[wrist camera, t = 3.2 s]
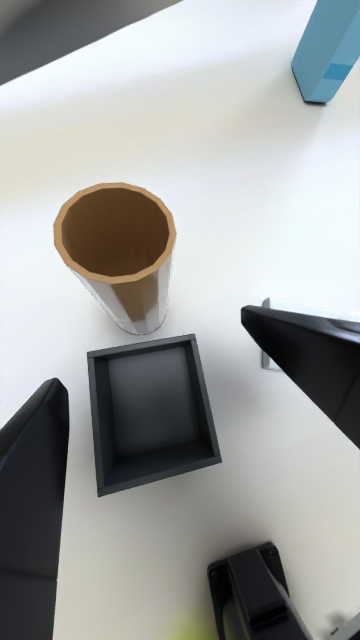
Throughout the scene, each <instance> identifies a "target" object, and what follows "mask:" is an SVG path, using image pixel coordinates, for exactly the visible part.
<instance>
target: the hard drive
mask: <svg viewBox="0 0 360 640" xmlns="http://www.w3.org/2000/svg"><path fill="white" fill-rule="evenodd" d="M263 307H265V308H271V309H277V310H283V311H289V312H296V313H302V314H308V315H314V316H321V317H325V318H333V319H340V320H347V321H354V322H360V313H359V312H353V311H348V310H342V309H337V308H331V307H325V306H319V305H313V304H308V303H302V302H296V301H290V300H284V299H278V298H272V297H268V298H267V299H265V300H264V303H263ZM262 363H263V368H267V369H274V370H281V371H283V370H282V369H281V368H280V367H279V366H278V365H277V364H276V363H275V362H274V361H273V360H272V359H271V358H270V357H269V356H268V355H267V354H266V353H265V352H264V351H263V360H262Z"/></svg>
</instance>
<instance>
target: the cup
mask: <svg viewBox="0 0 360 640" xmlns="http://www.w3.org/2000/svg"><path fill="white" fill-rule="evenodd" d="M53 226H54V245H55V247H56V249H57V251H58V253H59V254H60V256H61V258H62V259H63V261H64V263H65V264H66V265H67V267H68V268H69V269H70V270H71V271H72V272H73V273H74V275H75V276H76V277H77V278H78V279H79V280H80V281H81V283H82V284H83V285H84V286H85V287H86V288H87V289H88V291H89V292H90V293H91V294H92V295H93V296H94V298H95V299H96V300H97V301H98V302H99V303H100V304H101V306H102V307H103V308H104V309H105V310H106V311H107V312H108V314H109V315H110V316H111V317H112V318H113V319H114V320H115V322H116V323H117V324H118V325H119V326H120V327H121V328H123V329H124V330H125V331H127V332H129V333H131V334H135V335H145V334H149V333H151V332H153V331H155V330H156V329H158V328H159V327H160V326H161V324H162V323H163V321H164V319H165V316H166V311H167V305H168V297H169V289H170V281H171V273H172V266H173V258H174V250H175V242H176V229H175V225H174V220H173V216H172V214H171V213H170V211H169V210H168V208H167V207H166V206H165V204H164V203H163V202H162V200H160V198H158V197H156V196H155V195H153V194H152V193H150V192H149V191H147V190H146V189H144V188H142V187H138V186H134V185H130V184H126V183H100V184H97V185H94V186H92V187H89V188H86V189H84V190H81V191H79V192H77V193H76V194H75V195H74V196H73V197H71V198H70V199H69V200H68V201H67V202H66V203H65V204H63V206H62V207H61V209H60V211H59V213H58V216H57V218H56V220H55V222H54V225H53Z"/></svg>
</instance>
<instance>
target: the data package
mask: <svg viewBox="0 0 360 640" xmlns="http://www.w3.org/2000/svg"><path fill="white" fill-rule="evenodd" d="M359 56H360V0H318V1H317V3H316V5H315V8H314V10H313V12H312V15H311V17H310V19H309V22H308V24H307V26H306V29H305V31H304V33H303V36H302V38H301V40H300V43H299V45H298V47H297V50H296V52H295V55H294V58H293V63H292V69H293V71H294V74H295V77H296V79H297V82H298V85H299V87H300V90H301V93H302V95H303V98H304V100H305V101H313V102H324V103H326V102H329V101H330V100H331V99H332V98H333V97H334V95H335V94H336V92H337V91H338V89H339V87H340V86H341V84H342V83H343V81H344V80H345V78H346V76H347V75H348V73H349V72H350V70H351V69H352V67H353V65H354V64H355V62H356V61H357V59H358V58H359Z"/></svg>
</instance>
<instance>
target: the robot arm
mask: <svg viewBox="0 0 360 640" xmlns="http://www.w3.org/2000/svg"><path fill="white" fill-rule="evenodd" d="M241 323H242V325H243V327H244V328H245V329H246V330H247V332H248V333H249V334H250V336H251V337H252V338H253V339H254V341H255V342H256V343H257V344H258V346H259V347H260V348H261V349H262V350H263V351H264V352H265V353H266V354H267V355H268V356H269V357H270V358H271V359H272V360H273V361H274V362H275V363H276V364H277V365H278V366H279V367H280V368H281V369H282V370H283V371H284V372H285V373H286V375H287V376H288V377H289V378H290V379H291V380H292V381H293V382H294V383H295V384H296V385H297V386H298V387H299V388H300V389H301V390H302V391H303V392H304V393H305V394H306V395H307V396H308V397H309V398H310V399H311V400H312V401H313V402H314V403H315V404H316V405H317V406H318V407H319V408H320V409H321V410H322V411H323V412H324V413H325V414H326V415H327V416H328V418H329V419H330V420H331V421H332V422H334V424H335V425H336V426H337V427H338V428H339V429H340V430H341V431H342V432H343V433H344V434H345V435H346V436H347V437H348V438H349V439H350V440H351V441H352V442H353V443H354V444H355V445H356V446H357V447H358V448H359V449H360V322H354V321H347V320H340V319H333V318H325V317H321V316H314V315H308V314H302V313H296V312H289V311H283V310H277V309H271V308H265V307H258V306H252V305H247V306H245V307H242V308H241ZM68 442H69V399H68V391H67V389H66V388H65V387H64V385H63V384H62V383H61V382H60V380H59V379H58V378H52V379H50V380H47V381H45V382H44V383H43V384H42V385H41V386H40V387H39V388H38V390H37V391H36V392H35V393H34V394H33V395H32V396H31V397H30V398H29V399H28V400H27V402H26V403H25V404H24V405H23V406H22V407H21V408H20V409H19V410H18V411H17V412H16V414H15V415H14V416H13V417H12V418H11V419H10V420H9V421H8V422H7V423H6V424H5V426H4V427H3V428H2V429H1V430H0V640H52V639H53V627H54V615H55V603H56V590H57V576H58V564H59V551H60V539H61V527H62V515H63V503H64V490H65V478H66V466H67V454H68ZM272 550H273V552H272V553H271V551H272ZM212 572H215V574H214V575H212ZM207 575H208V581H209V587H210V592H211V598H212V604H213V609H214V615H215V621H216V626H217V632H218V638H219V640H313V638H312V636H311V634H310V633H309V631H308V629H307V627H306V626H305V624H304V622H303V620H302V619H301V617H300V615H299V613H298V612H297V610H296V608H295V607H294V605H293V603H292V601H291V600H290V596H289V592H288V588H287V584H286V580H285V576H284V572H283V568H282V564H281V560H280V556H279V552H278V549H277V548H276V546H275V545H274V544H273V543H271V542H270V543H267V544H264V545H261V546H258V547H256V548H253V549H250V550H247V551H245V552H242V553H239V554H236V555H234V556H231V557H228V558H225V559H223V560H220V561H217V562H214V563H212V564H210V565H209V566H208V568H207ZM331 635H332V636H331V637H330V638H329V639H327V640H360V612H359V613H358V614H357V615H356V616H355V617H354V618H352V619H351V620H350V621H349V622H348V623H346V624H345V625H344V626H343V627H342V628H340V629H338V628H336V629H335V630H334V631H333V632H332V633H331Z"/></svg>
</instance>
